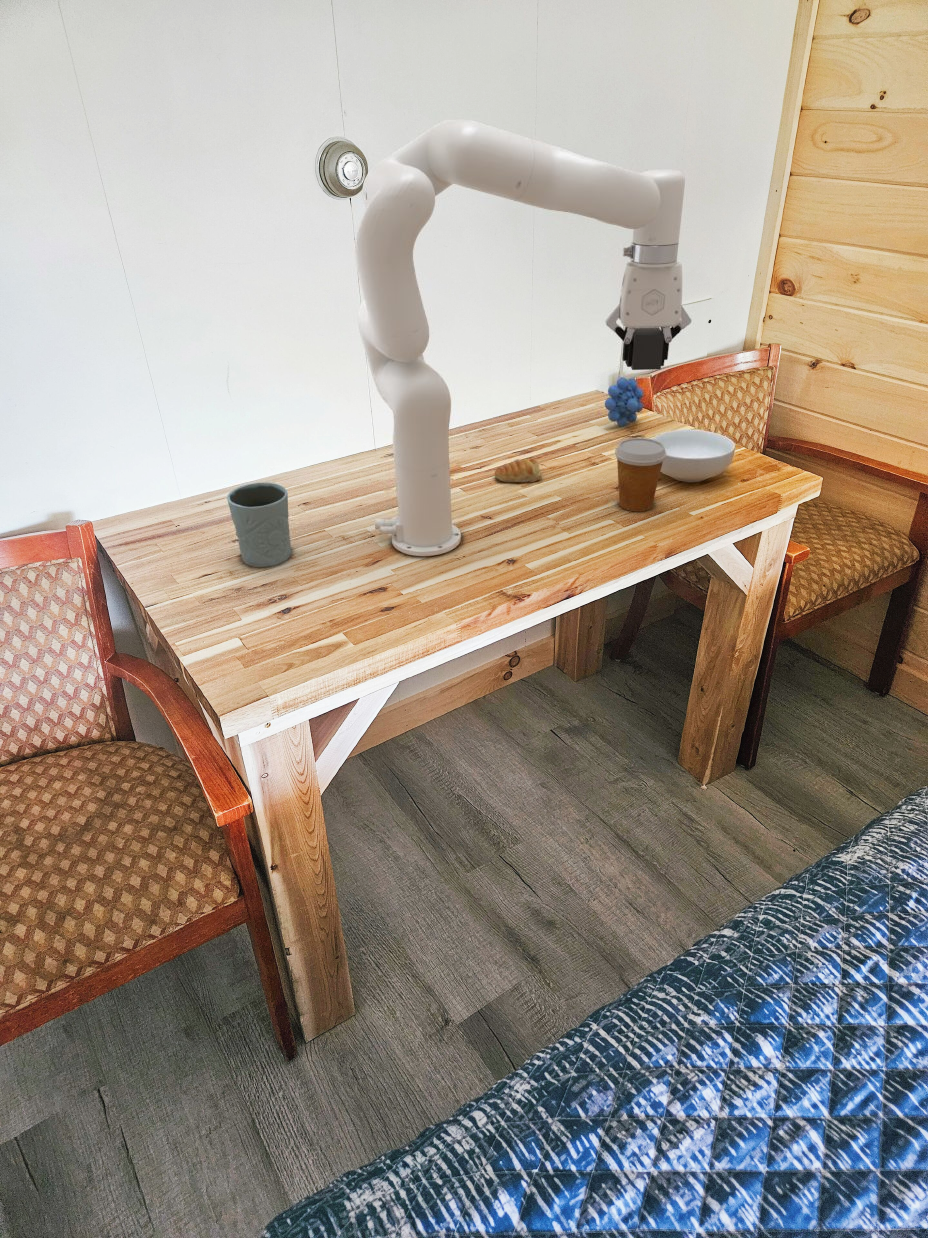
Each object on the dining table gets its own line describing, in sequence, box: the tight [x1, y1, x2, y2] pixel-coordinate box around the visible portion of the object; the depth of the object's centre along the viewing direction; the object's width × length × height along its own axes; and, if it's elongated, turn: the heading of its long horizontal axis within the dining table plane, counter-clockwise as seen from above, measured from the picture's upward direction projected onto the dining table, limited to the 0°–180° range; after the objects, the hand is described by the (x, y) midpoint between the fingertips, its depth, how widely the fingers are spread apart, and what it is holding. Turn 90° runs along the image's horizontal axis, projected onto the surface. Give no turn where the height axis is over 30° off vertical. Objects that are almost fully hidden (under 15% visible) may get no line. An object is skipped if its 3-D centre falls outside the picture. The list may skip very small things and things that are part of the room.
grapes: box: [604, 377, 644, 427], centre depth 192 cm, size 12×7×12 cm, turn 123°
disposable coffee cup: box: [614, 437, 667, 512], centre depth 156 cm, size 10×10×12 cm
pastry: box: [494, 457, 542, 483], centre depth 171 cm, size 9×7×4 cm
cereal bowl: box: [651, 429, 736, 483], centre depth 169 cm, size 17×17×7 cm
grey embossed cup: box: [226, 482, 292, 568], centre depth 143 cm, size 10×10×12 cm
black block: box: [630, 327, 664, 371], centre depth 145 cm, size 5×5×6 cm
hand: (644, 363), depth 146 cm, fingers closed on black block, 5 cm apart
